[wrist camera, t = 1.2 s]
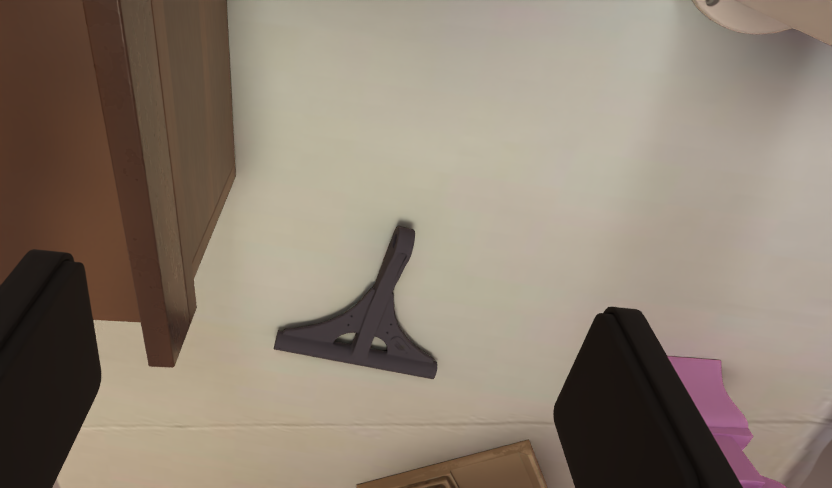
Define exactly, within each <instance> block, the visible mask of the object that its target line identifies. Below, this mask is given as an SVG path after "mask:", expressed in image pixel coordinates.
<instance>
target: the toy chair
mask: <svg viewBox="0 0 832 488" xmlns="http://www.w3.org/2000/svg"><path fill="white" fill-rule="evenodd" d="M667 357H668V358H669V360H670V362H671V363H672V365H673V367H674V369H675V370H676V372H677V374H678V376H679V377H680V379H681V381H682V383H683V384H684V386H685V388H686V389H687V391H688V393H689V395H690V396H691V398H692V400H693V402H694V403H695V405H696V407H697V409H698V410H699V412H700V414H701V415H702V417H703V419H704V421H705V422H706V424H707V426H708V428H709V429H710V431H711V433H712V435H713V436H714V438H715V440H716V442H717V443H718V445H719V447H720V448H721V450H722V452H723V454H724V455H725V457H726V459H727V461H728V462H729V464H730V466H731V468H732V469H733V471H734V473H735V474H736V476H737V478H738V480H739V481H740V483H741V485H742V487H743V488H786V487H785V486H784V485H783V484H781V483H779V482H777V481H775V480H772V479H769V478H767V477H764V476H761V475H760V474H759V473H758V472H757V470H756V469H755V467H754V466H753V465H752V463H751V462H750V461H749V459H748V458H747V457H746V455H745V454H744V452H743V451H742V450H743V449H744V448H745V447H746V446H747V444H748V443H749V442H750V440H751V439H752V438H753V435H752V433H751V432H750V430H749V428H748V422H747V420H746V418H745V416H744V415H743V414H742V412H741V411H740V410H739V409H738V408H737V406H736V405H735V404H734V403H733V401H732V400H731V399H730V397H729V396H728V394H727V392H726V391H725V388H724V385H723V381H722V372H721V361H720V360H711V359H698V358H684V357H671V356H667Z"/></svg>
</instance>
